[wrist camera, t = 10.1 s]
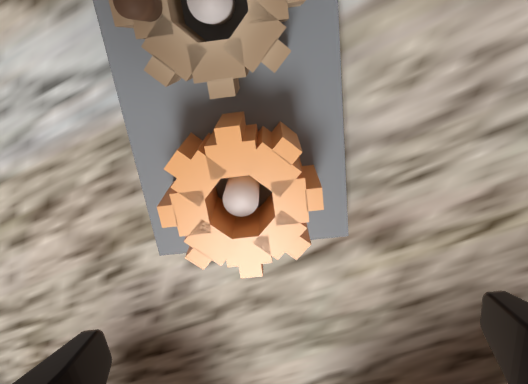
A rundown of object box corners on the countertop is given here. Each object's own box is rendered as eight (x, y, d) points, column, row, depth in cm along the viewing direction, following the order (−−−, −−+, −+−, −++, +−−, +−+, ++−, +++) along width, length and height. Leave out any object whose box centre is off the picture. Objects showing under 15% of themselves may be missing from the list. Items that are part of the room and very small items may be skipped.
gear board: (342, 222, 21) (356, 256, 18) (166, 241, 22) (148, 277, 18) (326, -105, 15) (342, -143, 12) (89, -69, 16) (43, -96, 13)
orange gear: (319, 236, 20) (328, 269, 17) (189, 250, 20) (176, 285, 17) (308, 102, 17) (316, 115, 14) (159, 121, 17) (138, 138, 15)
